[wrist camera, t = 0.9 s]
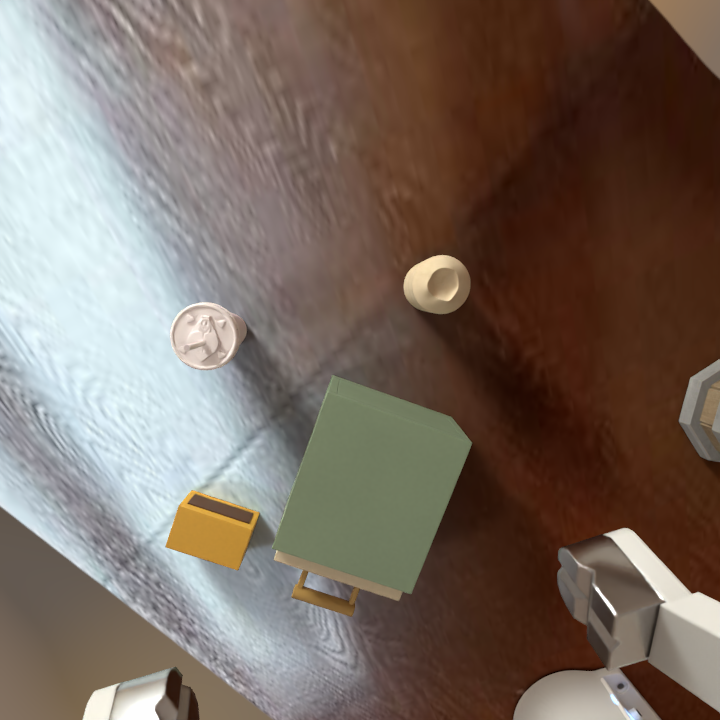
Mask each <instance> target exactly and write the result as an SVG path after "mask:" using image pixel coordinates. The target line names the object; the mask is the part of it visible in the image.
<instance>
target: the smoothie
mask: <svg viewBox="0 0 720 720" xmlns="http://www.w3.org/2000/svg"><path fill="white" fill-rule="evenodd" d="M246 334H247V327H246V324H245V322H244V320H243V319H242V318H241V317H240V316H238V315H236V314H233V313H230V312H229V311H228V310H226V309H225V308H223V307H221V306H220V305H217V304H213V303H197V304H193V305H191V306H188V307H186V308H185V309H183V310H182V311H181V312H180V313H179V314H178V315H177V316H176V318H175V319H174V321H173V323H172V326H171V331H170V339H171V344H172V347H173V350H174V352H175V353H176V355H177V356H178V358H179V359H180V360H181V361H182V362H184V363H185V364H186V365H188V366H190V367H192V368H195V369H198V370H212V369H216V368H219V367H222V366H224V365H225V364H227V363H228V362H229V361H230V360H231V359H232V358H233V357H234V356H235V354H236V353H237V351H238V349H239V345H240V344H241V343H242V341H243V340H244V339H245V337H246Z"/></svg>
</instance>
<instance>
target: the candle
mask: <svg viewBox="0 0 720 720" xmlns="http://www.w3.org/2000/svg"><path fill="white" fill-rule="evenodd" d="M469 291H470V276H469V273H468V271H467V269H466V268H465V266H464V265H463V264H462V263H461V262H460V261H459V260H457V259H455V258H453V257H450V256H446V255H438V256H434V257H431V258H429V259H427V260H425V261H423V262H421V263H419V264H417V265H415V266H414V267H413V268H412V269H411V270H410V271H409V272H408V273H407V275H406V277H405V280H404V293H405V296H406V298H407V300H408V301H409V303H410V304H411V305H412V306H414V307H415V308H417V309H419V310H422V311H426V312H431V313H436V314H446V313H450V312H453V311H455V310H456V309H458V308H459V307H460V306H461V305H462V304H463V303H464V302H465V300H466V299H467V297H468V295H469Z"/></svg>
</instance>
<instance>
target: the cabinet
mask: <svg viewBox="0 0 720 720" xmlns="http://www.w3.org/2000/svg"><path fill="white" fill-rule="evenodd" d="M471 445H472V442H471V441H470V439H469V438H468V437H467V436H466V434H465V433H464V432H463V431H462V430H461V428H460V427H459V426H458V425H457V423H456V422H455V421H454V420H453V418H452V417H450V416H447V415H444V414H442V413H439V412H436V411H433V410H430V409H427V408H425V407H422V406H419V405H416V404H413V403H410V402H408V401H405V400H402V399H399V398H396V397H393V396H391V395H388V394H385V393H382V392H379V391H376V390H374V389H371V388H368V387H365V386H362V385H359V384H357V383H354V382H351V381H348V380H345V379H342V378H340V377H337V376H334V375H332V378H331V381H330V383H329V386H328V389H327V392H326V395H325V397H324V400H323V403H322V406H321V408H320V411H319V414H318V417H317V420H316V422H315V425H314V428H313V431H312V434H311V436H310V439H309V442H308V445H307V448H306V450H305V453H304V456H303V459H302V462H301V464H300V467H299V470H298V473H297V476H296V478H295V481H294V484H293V487H292V490H291V492H290V495H289V498H288V501H287V503H286V506H285V510H284V513H283V516H282V519H281V522H280V525H279V528H278V531H277V534H276V537H275V540H274V543H273V546H272V549H274V550H277V551H280V552H284V553H287V554H290V555H293V556H296V557H299V558H302V559H305V560H308V561H311V562H314V563H317V564H320V565H323V566H326V567H329V568H332V569H335V570H338V571H341V572H345V573H348V574H351V575H354V576H357V577H360V578H363V579H366V580H369V581H372V582H375V583H378V584H381V585H384V586H387V587H390V588H393V589H396V590H399V591H403V592H406V593H409V594H411V593H412V591H413V589H414V586H415V584H416V581H417V579H418V576H419V574H420V571H421V569H422V566H423V564H424V561H425V559H426V556H427V554H428V551H429V549H430V547H431V544H432V542H433V539H434V537H435V534H436V532H437V529H438V527H439V524H440V522H441V519H442V517H443V514H444V512H445V510H446V507H447V505H448V502H449V500H450V497H451V495H452V492H453V490H454V487H455V485H456V482H457V480H458V477H459V475H460V472H461V470H462V468H463V465H464V463H465V460H466V458H467V455H468V453H469V450H470V448H471Z"/></svg>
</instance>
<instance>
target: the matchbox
mask: <svg viewBox="0 0 720 720" xmlns="http://www.w3.org/2000/svg"><path fill="white" fill-rule="evenodd" d="M259 514H260V513H259V512H256V511H253V510H250V509H247V508H244V507H241V506H238V505H235V504H232V503H229V502H226V501H223V500H220V499H217V498H214V497H211V496H208V495H205V494H202V493H199V492H196V491H193V490H192V491H191V492H190V493H189V494H188V495H187V497H186V498H185V499H184V500H183V501H182V503H181V504H180V505H179V507H178V510H177V513H176V516H175V519H174V522H173V525H172V528H171V531H170V534H169V537H168V541H167V544H166V547H167V548H170V549H173V550H176V551H179V552H182V553H185V554H189V555H192V556H195V557H198V558H201V559H204V560H207V561H210V562H213V563H216V564H219V565H223V566H226V567H229V568H232V569H235V570H239V567H240V565H241V563H242V560H243V558H244V556H245V553H246V551H247V548H248V545H249V542H250V540H251V537H252V534H253V531H254V528H255V525H256V522H257V520H258V517H259Z"/></svg>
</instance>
